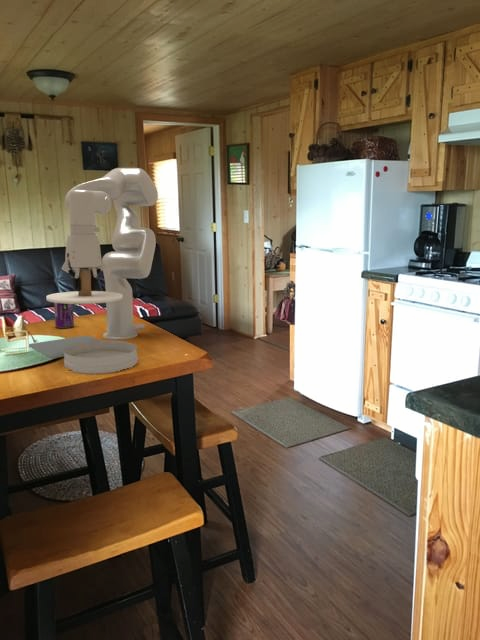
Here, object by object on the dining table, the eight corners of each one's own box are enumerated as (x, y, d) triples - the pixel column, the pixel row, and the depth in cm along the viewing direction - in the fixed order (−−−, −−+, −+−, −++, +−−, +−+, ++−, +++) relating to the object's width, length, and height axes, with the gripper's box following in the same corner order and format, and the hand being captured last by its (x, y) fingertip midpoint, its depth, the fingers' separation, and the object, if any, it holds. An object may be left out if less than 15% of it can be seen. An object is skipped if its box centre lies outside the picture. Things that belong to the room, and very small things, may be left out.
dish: (148, 367, 165) (148, 351, 164) (75, 379, 154) (74, 361, 153) (123, 351, 183) (122, 337, 182) (55, 360, 172) (55, 345, 171)
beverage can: (70, 329, 215) (69, 299, 213) (52, 328, 216) (51, 298, 213) (76, 325, 222) (74, 296, 220) (59, 325, 222) (57, 296, 220)
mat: (87, 336, 203) (87, 335, 203) (117, 348, 186) (117, 347, 186) (25, 346, 188) (25, 344, 188) (52, 360, 171) (51, 358, 171)
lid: (103, 292, 187) (102, 266, 186) (135, 300, 169) (135, 271, 168) (35, 297, 173) (34, 268, 171) (62, 306, 155) (61, 274, 154)
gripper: (103, 231, 176) (104, 287, 179) (51, 230, 165) (54, 290, 168) (113, 231, 170) (115, 289, 173) (60, 231, 160) (63, 293, 163)
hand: (84, 289), depth 171 cm, fingers closed on lid, 4 cm apart
